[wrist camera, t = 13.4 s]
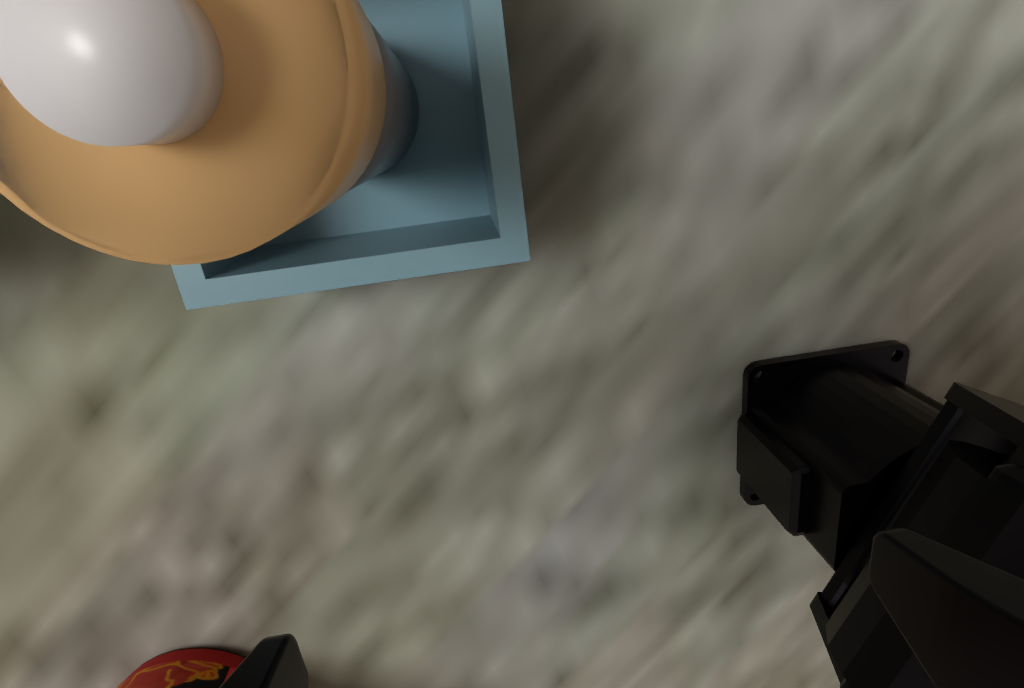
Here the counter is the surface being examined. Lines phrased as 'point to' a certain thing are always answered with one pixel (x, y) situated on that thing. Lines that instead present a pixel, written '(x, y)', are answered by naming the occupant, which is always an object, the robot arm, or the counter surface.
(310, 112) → the battery cell
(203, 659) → the canned food
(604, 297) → the counter surface
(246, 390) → the counter surface
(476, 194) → the bin
